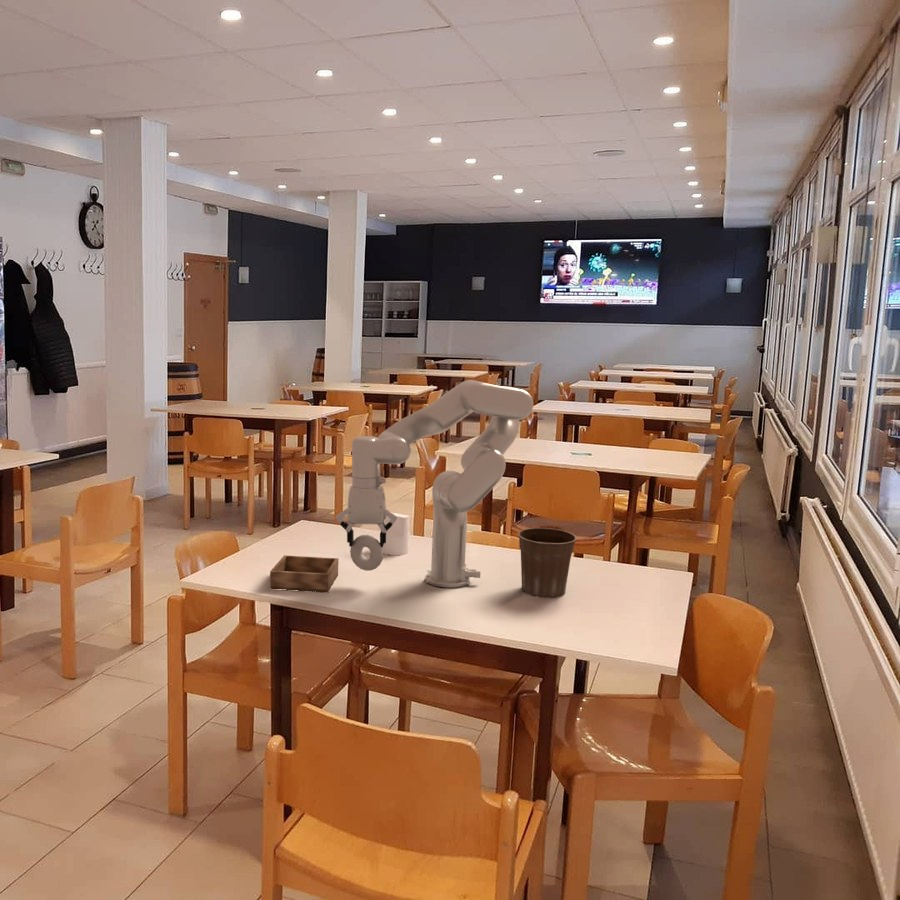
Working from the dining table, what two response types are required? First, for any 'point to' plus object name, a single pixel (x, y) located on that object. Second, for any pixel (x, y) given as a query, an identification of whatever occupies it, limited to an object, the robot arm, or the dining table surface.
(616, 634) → the dining table surface
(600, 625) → the dining table surface
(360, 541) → the donut
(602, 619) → the dining table surface
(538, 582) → the plant pot
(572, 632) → the dining table surface
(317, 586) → the walnut box
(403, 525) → the white block
